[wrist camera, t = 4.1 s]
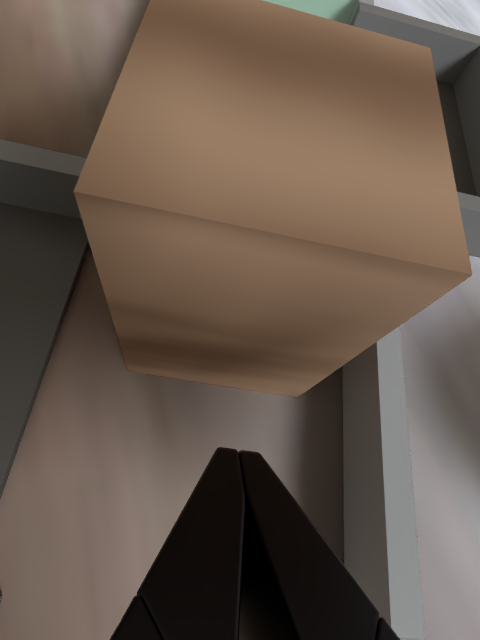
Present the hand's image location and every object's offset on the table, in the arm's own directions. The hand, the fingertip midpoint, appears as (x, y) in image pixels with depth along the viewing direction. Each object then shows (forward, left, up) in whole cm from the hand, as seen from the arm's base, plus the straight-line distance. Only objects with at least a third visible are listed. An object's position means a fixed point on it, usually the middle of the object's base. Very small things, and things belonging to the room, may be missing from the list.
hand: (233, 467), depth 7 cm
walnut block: (+7, +7, -7) cm, 13 cm away
